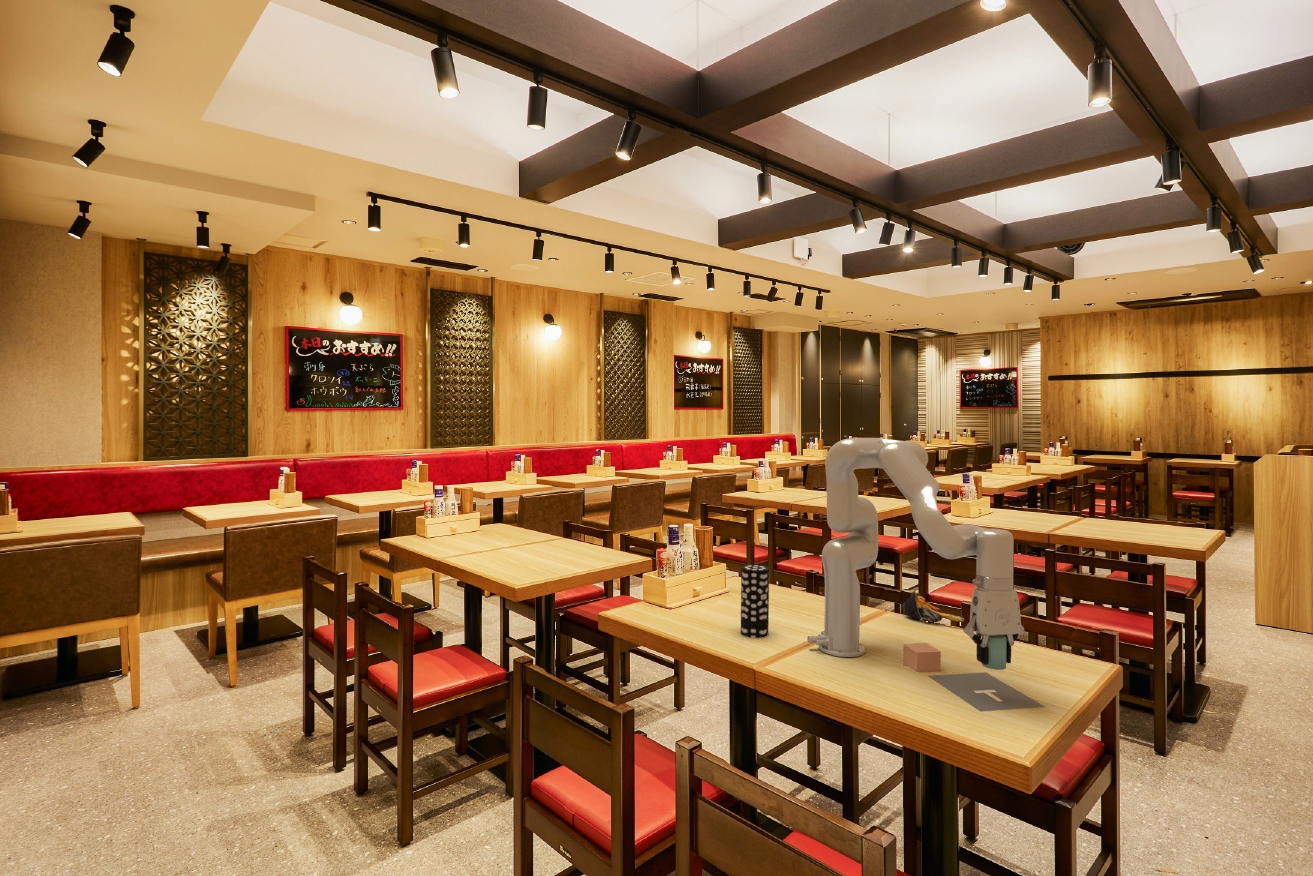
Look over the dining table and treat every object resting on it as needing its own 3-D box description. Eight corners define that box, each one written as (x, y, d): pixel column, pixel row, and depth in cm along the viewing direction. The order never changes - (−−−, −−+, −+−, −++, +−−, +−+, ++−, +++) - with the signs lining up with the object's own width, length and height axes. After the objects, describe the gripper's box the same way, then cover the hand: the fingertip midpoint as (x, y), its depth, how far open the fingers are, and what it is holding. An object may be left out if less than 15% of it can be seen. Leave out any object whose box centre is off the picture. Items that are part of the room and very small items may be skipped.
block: (916, 676, 163) (917, 652, 163) (903, 666, 169) (903, 643, 169) (940, 674, 164) (940, 651, 164) (925, 665, 170) (926, 642, 170)
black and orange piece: (906, 598, 219) (961, 589, 209) (912, 631, 213) (969, 624, 204) (896, 593, 212) (952, 583, 202) (902, 627, 207) (960, 619, 197)
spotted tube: (739, 636, 192) (739, 569, 191) (742, 628, 200) (742, 564, 199) (767, 639, 190) (768, 571, 189) (769, 630, 198) (770, 565, 197)
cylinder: (991, 670, 146) (991, 639, 145) (976, 662, 150) (977, 632, 150) (1011, 669, 146) (1011, 638, 146) (996, 661, 151) (996, 631, 151)
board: (980, 715, 141) (980, 711, 141) (927, 679, 160) (927, 675, 160) (1045, 711, 143) (1045, 706, 143) (985, 676, 163) (986, 672, 163)
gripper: (971, 588, 143) (970, 670, 143) (1039, 585, 146) (1038, 665, 146) (950, 580, 151) (950, 658, 151) (1016, 578, 153) (1015, 654, 154)
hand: (993, 661), depth 148 cm, fingers closed on cylinder, 5 cm apart
